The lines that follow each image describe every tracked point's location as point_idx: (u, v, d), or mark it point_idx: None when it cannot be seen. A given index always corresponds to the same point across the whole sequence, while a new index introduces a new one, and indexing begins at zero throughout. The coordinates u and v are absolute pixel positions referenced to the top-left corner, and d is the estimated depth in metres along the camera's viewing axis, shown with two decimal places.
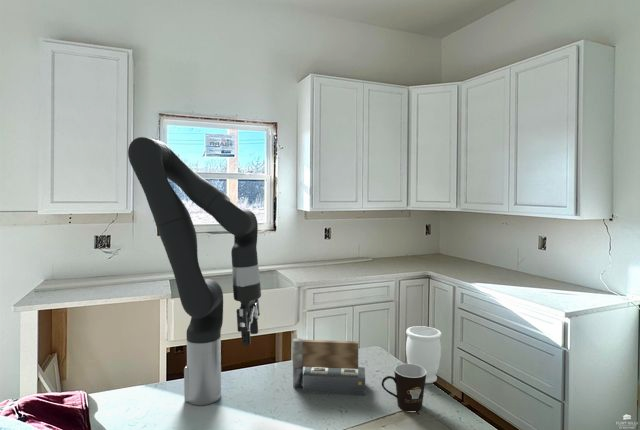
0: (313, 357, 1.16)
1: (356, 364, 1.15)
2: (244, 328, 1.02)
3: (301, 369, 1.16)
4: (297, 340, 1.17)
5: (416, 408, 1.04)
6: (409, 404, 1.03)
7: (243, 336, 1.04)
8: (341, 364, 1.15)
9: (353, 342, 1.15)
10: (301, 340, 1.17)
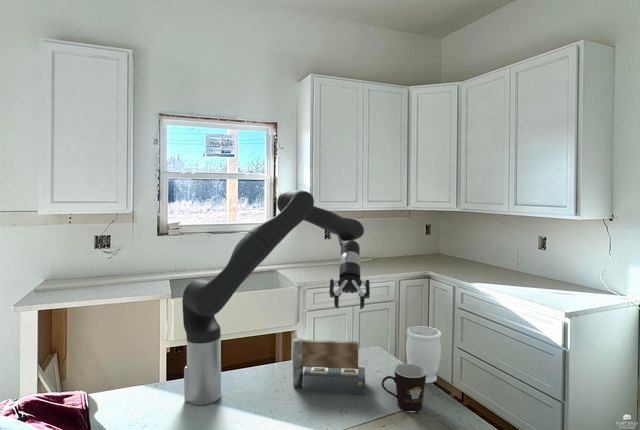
0: (313, 357, 1.16)
1: (356, 364, 1.15)
2: (369, 295, 1.34)
3: (301, 369, 1.16)
4: (297, 340, 1.17)
5: (416, 408, 1.04)
6: (409, 404, 1.03)
7: None
8: (341, 364, 1.15)
9: (353, 342, 1.15)
10: (301, 340, 1.17)
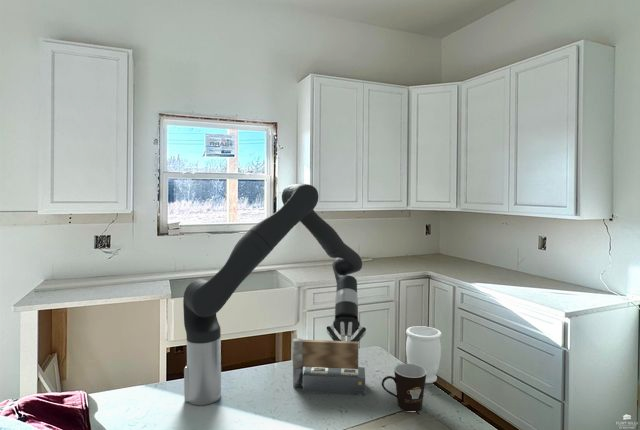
0: (313, 357, 1.16)
1: (356, 364, 1.15)
2: (356, 341, 1.21)
3: (301, 369, 1.16)
4: (297, 340, 1.17)
5: (416, 408, 1.04)
6: (409, 404, 1.03)
7: None
8: (341, 364, 1.15)
9: (353, 342, 1.15)
10: (301, 340, 1.17)
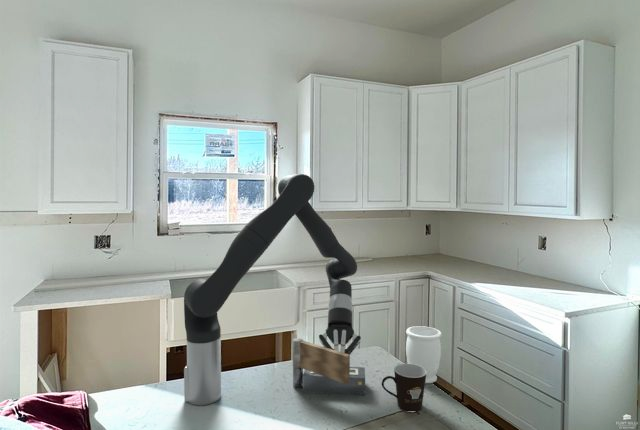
0: (308, 360, 1.14)
1: (344, 378, 1.06)
2: None
3: (301, 369, 1.16)
4: (297, 340, 1.17)
5: (416, 408, 1.04)
6: (409, 404, 1.03)
7: None
8: (331, 374, 1.09)
9: (343, 354, 1.07)
10: (300, 341, 1.16)
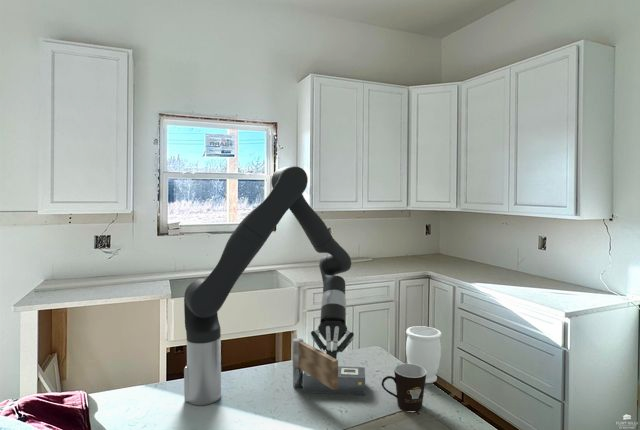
0: (304, 361, 1.13)
1: (332, 384, 1.03)
2: (342, 347, 1.11)
3: None
4: (297, 340, 1.17)
5: (416, 408, 1.04)
6: (409, 404, 1.03)
7: None
8: (322, 378, 1.06)
9: (332, 359, 1.04)
10: (299, 341, 1.16)
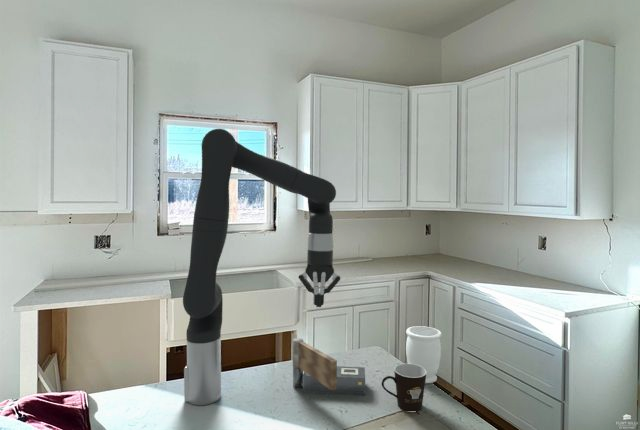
0: (304, 361, 1.13)
1: (331, 384, 1.03)
2: None
3: None
4: (297, 340, 1.17)
5: (416, 408, 1.04)
6: (409, 404, 1.03)
7: (323, 298, 1.15)
8: (321, 379, 1.06)
9: (330, 359, 1.03)
10: (299, 341, 1.16)
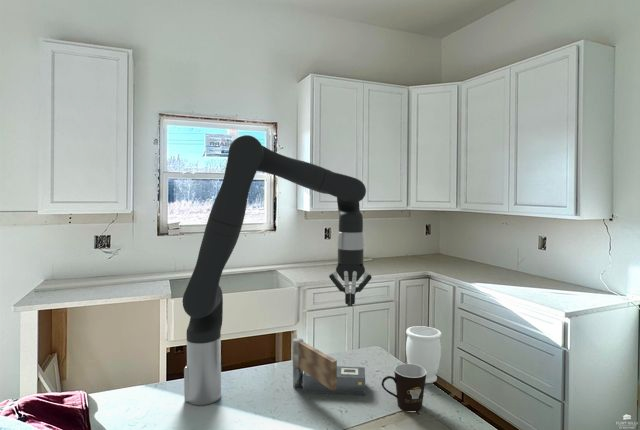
0: (304, 361, 1.13)
1: (331, 384, 1.03)
2: None
3: None
4: (297, 340, 1.17)
5: (416, 408, 1.04)
6: (409, 404, 1.03)
7: None
8: (321, 379, 1.06)
9: (330, 359, 1.03)
10: (299, 341, 1.16)
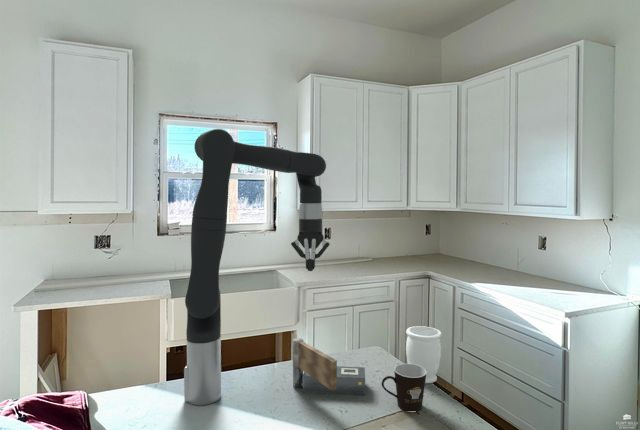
0: (304, 361, 1.13)
1: (331, 384, 1.03)
2: None
3: None
4: (297, 340, 1.17)
5: (416, 408, 1.04)
6: (409, 404, 1.03)
7: (314, 262, 1.26)
8: (321, 379, 1.06)
9: (330, 359, 1.03)
10: (299, 341, 1.16)
